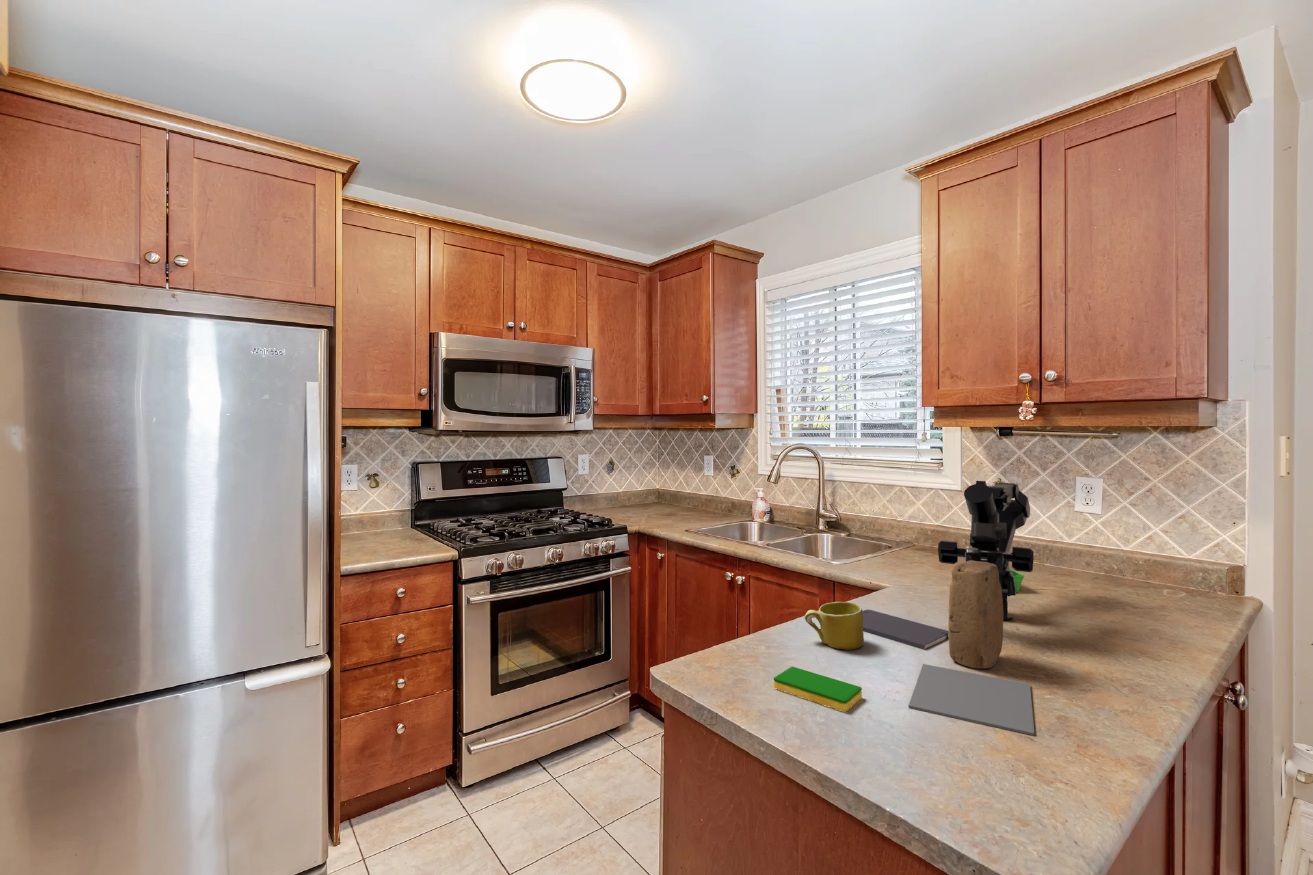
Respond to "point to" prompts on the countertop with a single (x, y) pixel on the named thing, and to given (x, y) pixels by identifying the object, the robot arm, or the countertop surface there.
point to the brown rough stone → (975, 614)
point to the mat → (974, 698)
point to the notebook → (902, 630)
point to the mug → (839, 624)
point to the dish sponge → (818, 688)
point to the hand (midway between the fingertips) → (983, 587)
